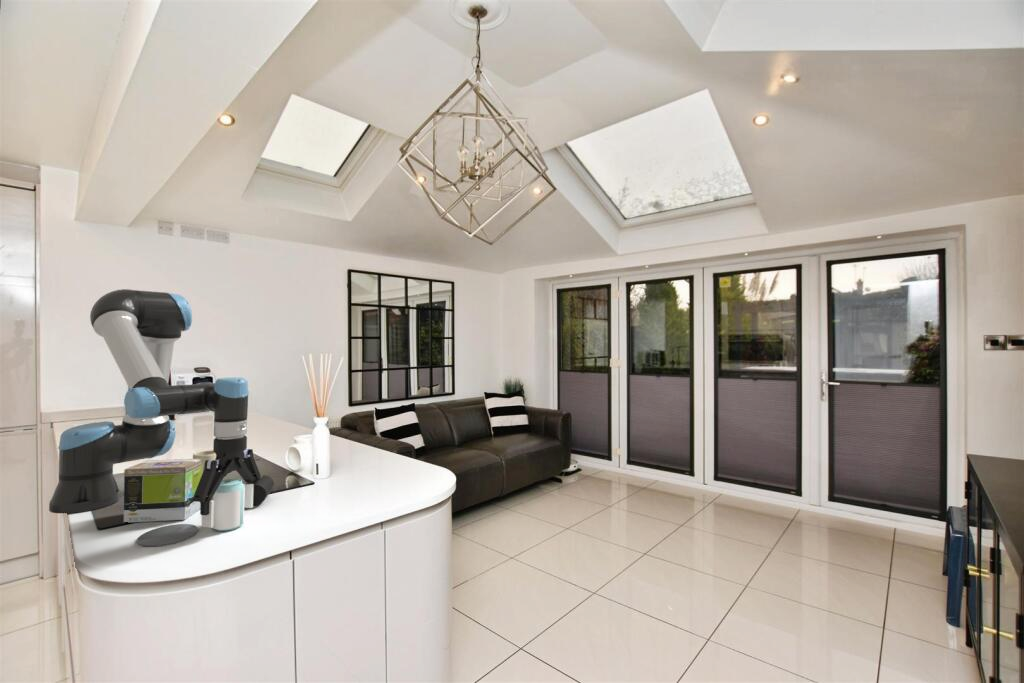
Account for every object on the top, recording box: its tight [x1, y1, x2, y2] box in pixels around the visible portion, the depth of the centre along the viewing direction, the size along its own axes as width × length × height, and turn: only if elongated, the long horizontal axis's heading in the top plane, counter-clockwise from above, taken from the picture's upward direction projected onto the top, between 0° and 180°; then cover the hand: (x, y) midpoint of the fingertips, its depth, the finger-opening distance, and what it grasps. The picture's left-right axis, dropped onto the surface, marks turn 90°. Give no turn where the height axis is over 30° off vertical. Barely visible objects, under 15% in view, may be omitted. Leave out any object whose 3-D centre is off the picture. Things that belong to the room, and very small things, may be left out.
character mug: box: [192, 449, 216, 474], centre depth 144 cm, size 11×7×13 cm, turn 109°
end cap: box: [244, 475, 275, 509], centre depth 138 cm, size 10×7×7 cm
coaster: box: [136, 523, 198, 548], centre depth 113 cm, size 12×12×1 cm
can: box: [212, 478, 245, 532], centre depth 119 cm, size 7×7×12 cm
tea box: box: [123, 458, 202, 523], centre depth 126 cm, size 15×10×15 cm, turn 100°
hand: (228, 516), depth 119 cm, fingers open, 13 cm apart
